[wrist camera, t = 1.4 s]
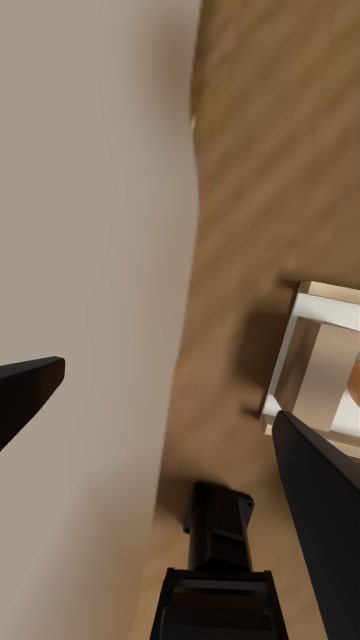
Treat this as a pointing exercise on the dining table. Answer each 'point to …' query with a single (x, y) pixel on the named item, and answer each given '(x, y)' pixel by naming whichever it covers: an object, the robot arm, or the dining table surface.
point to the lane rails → (342, 441)
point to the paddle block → (316, 371)
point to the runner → (331, 311)
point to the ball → (354, 384)
